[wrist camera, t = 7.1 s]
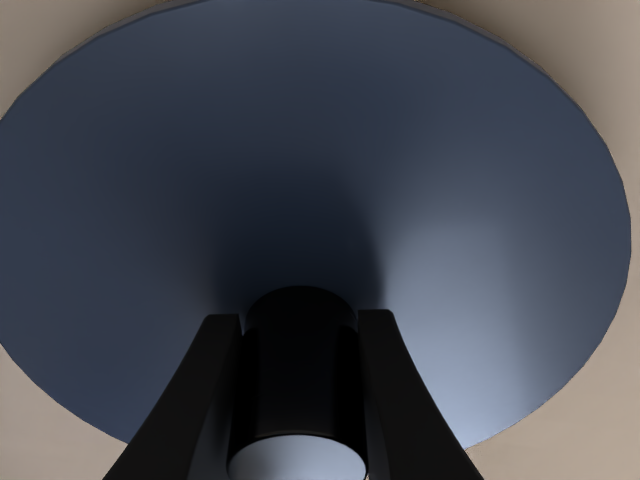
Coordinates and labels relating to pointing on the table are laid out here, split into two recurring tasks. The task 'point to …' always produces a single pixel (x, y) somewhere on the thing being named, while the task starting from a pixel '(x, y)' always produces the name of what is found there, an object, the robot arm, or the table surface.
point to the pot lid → (305, 220)
